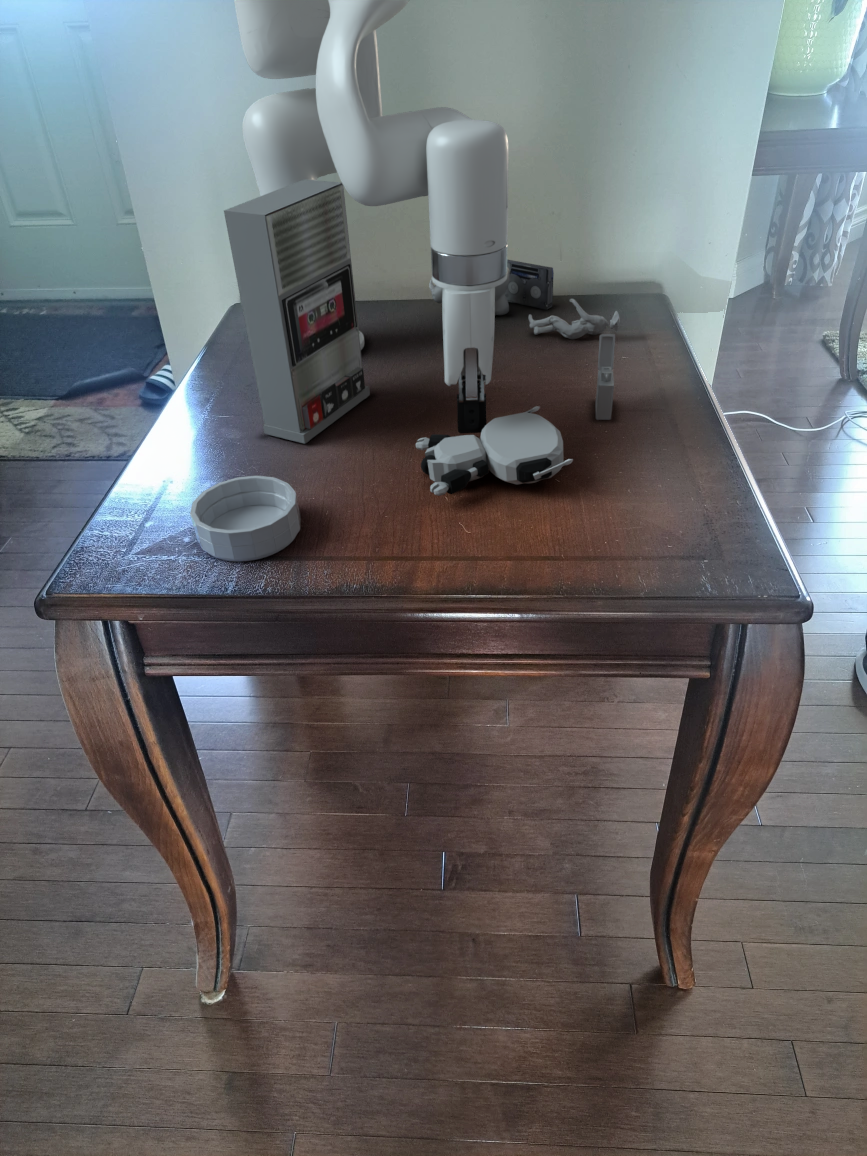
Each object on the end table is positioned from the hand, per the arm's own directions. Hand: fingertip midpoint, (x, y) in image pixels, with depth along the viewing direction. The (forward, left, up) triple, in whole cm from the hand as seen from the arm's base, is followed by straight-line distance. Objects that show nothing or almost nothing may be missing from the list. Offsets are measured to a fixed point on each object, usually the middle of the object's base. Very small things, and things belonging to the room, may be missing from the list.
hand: (472, 429), depth 93 cm
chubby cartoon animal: (-24, +32, -2) cm, 40 cm away
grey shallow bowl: (-7, -27, -2) cm, 28 cm away
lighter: (+8, +16, -2) cm, 18 cm away
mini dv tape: (-19, +40, -2) cm, 44 cm away
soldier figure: (-6, +32, -2) cm, 32 cm away
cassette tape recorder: (-19, -5, -2) cm, 20 cm away
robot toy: (+6, -5, -2) cm, 8 cm away
